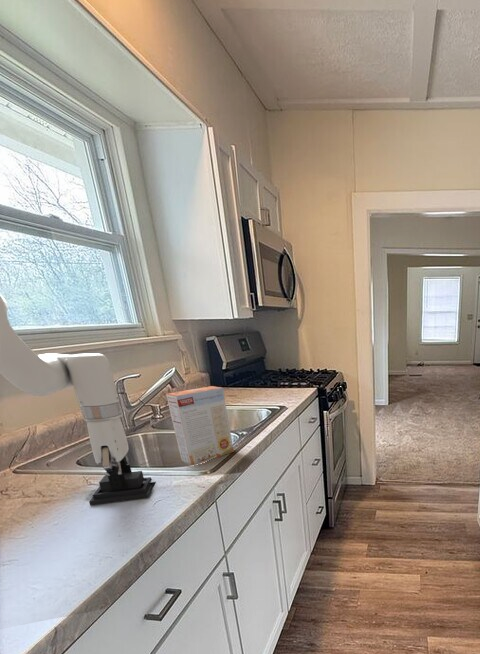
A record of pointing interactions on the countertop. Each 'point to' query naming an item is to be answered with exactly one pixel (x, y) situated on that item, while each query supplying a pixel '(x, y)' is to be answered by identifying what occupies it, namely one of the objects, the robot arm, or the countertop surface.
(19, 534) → the countertop surface
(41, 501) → the countertop surface
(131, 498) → the base pad
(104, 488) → the top pad
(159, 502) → the countertop surface
